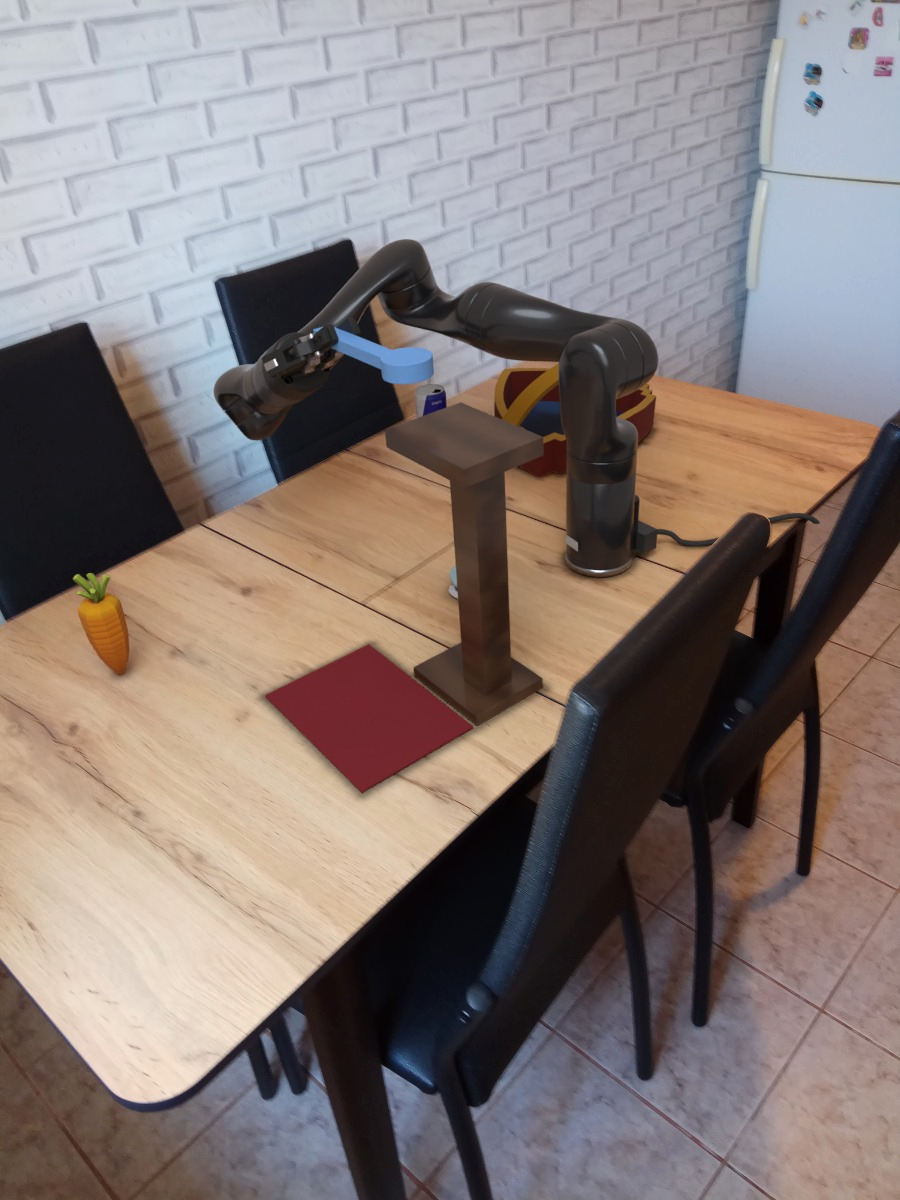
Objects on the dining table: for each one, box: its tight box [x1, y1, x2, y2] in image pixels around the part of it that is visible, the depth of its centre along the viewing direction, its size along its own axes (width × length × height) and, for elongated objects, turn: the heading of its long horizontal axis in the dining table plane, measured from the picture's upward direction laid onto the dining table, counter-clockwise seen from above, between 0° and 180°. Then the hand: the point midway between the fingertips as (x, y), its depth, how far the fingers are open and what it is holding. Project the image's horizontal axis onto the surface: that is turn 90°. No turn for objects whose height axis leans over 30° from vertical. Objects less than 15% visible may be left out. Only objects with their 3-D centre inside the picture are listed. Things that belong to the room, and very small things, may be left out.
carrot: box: [72, 572, 130, 676], centre depth 112 cm, size 5×5×15 cm
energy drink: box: [414, 383, 448, 418], centre depth 161 cm, size 5×5×12 cm
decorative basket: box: [493, 363, 657, 478], centre depth 163 cm, size 34×29×15 cm
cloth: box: [264, 643, 474, 794], centre depth 107 cm, size 15×21×1 cm
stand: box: [384, 402, 543, 727], centre depth 102 cm, size 10×13×32 cm
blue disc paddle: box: [313, 327, 435, 385], centre depth 101 cm, size 5×20×2 cm, turn 38°
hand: (343, 329), depth 103 cm, fingers closed on blue disc paddle, 2 cm apart
